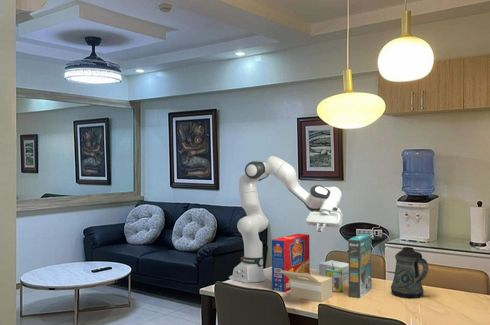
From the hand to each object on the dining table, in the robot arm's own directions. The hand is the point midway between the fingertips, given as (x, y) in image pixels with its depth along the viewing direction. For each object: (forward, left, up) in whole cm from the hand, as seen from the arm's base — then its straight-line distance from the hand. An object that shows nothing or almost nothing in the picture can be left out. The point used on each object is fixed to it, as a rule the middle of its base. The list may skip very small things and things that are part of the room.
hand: (319, 231), depth 259 cm
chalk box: (+4, +10, -33) cm, 35 cm away
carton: (0, -9, -33) cm, 34 cm away
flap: (0, -16, -23) cm, 28 cm away
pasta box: (-20, +4, -33) cm, 39 cm away
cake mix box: (+18, +13, -33) cm, 40 cm away
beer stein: (+41, +24, -33) cm, 58 cm away
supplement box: (-7, +35, -34) cm, 49 cm away
